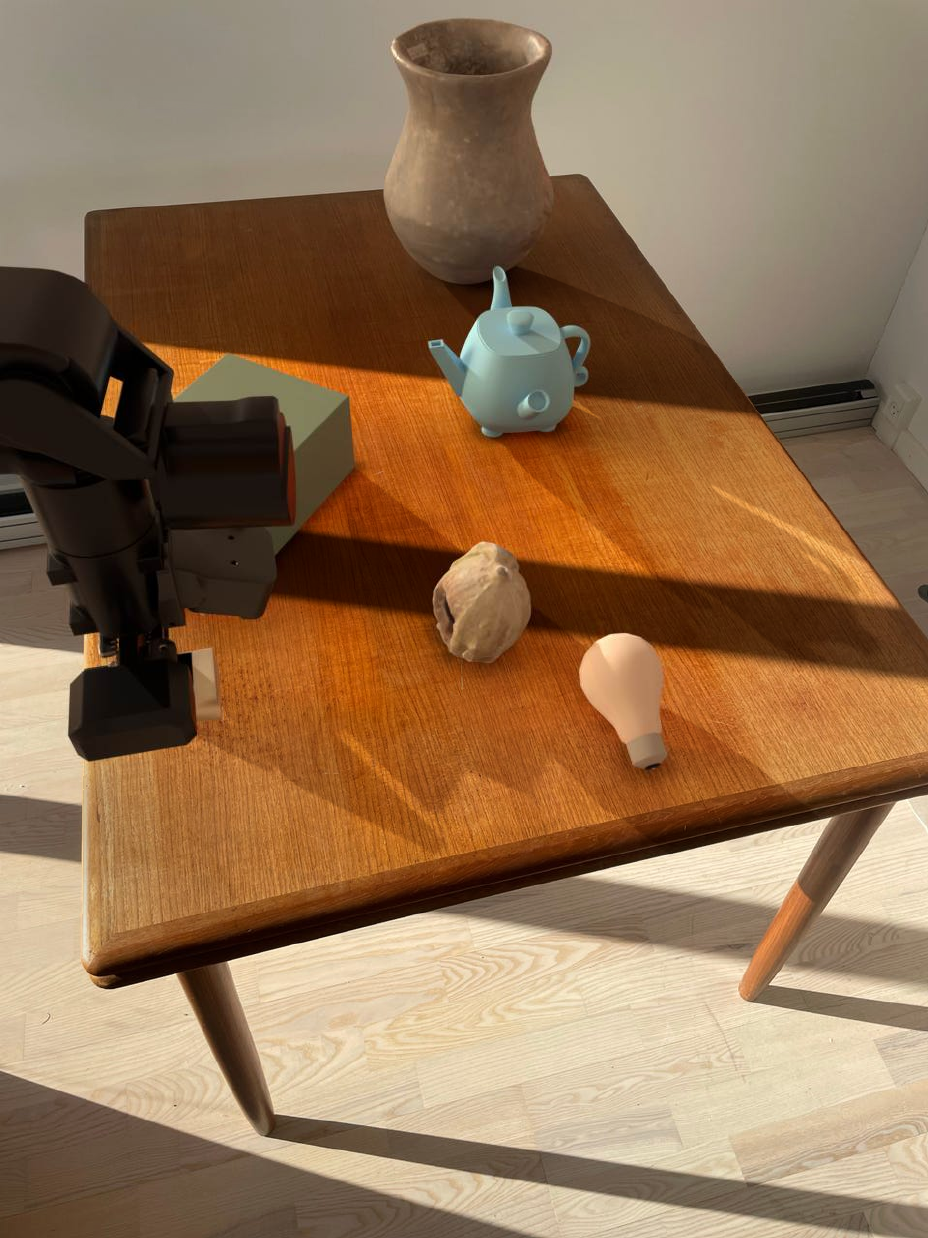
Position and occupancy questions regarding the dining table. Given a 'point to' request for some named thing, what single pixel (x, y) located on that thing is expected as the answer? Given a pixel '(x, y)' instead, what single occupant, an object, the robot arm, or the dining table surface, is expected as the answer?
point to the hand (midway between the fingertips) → (162, 694)
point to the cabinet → (313, 423)
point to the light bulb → (627, 693)
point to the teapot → (515, 366)
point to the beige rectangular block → (206, 685)
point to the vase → (469, 148)
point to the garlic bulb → (482, 604)
